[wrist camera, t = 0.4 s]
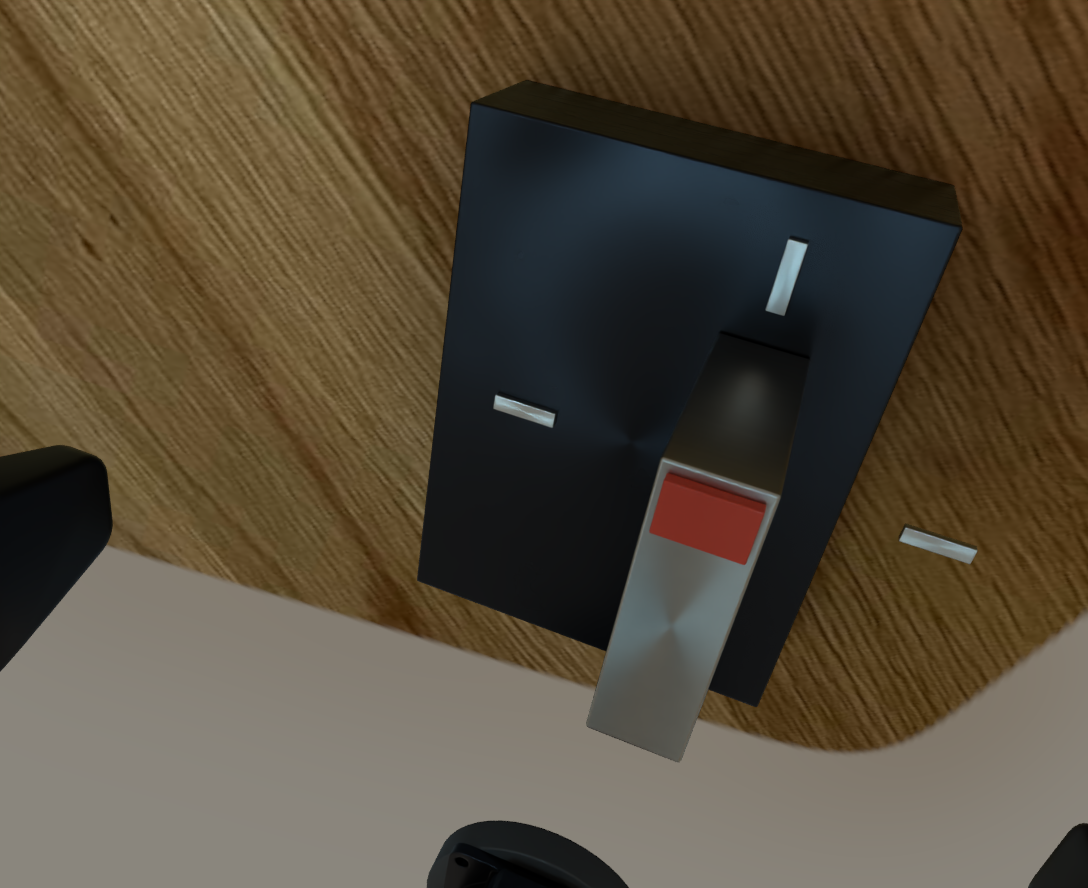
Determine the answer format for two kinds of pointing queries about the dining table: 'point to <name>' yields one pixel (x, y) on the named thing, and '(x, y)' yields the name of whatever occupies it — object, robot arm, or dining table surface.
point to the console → (657, 347)
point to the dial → (699, 544)
